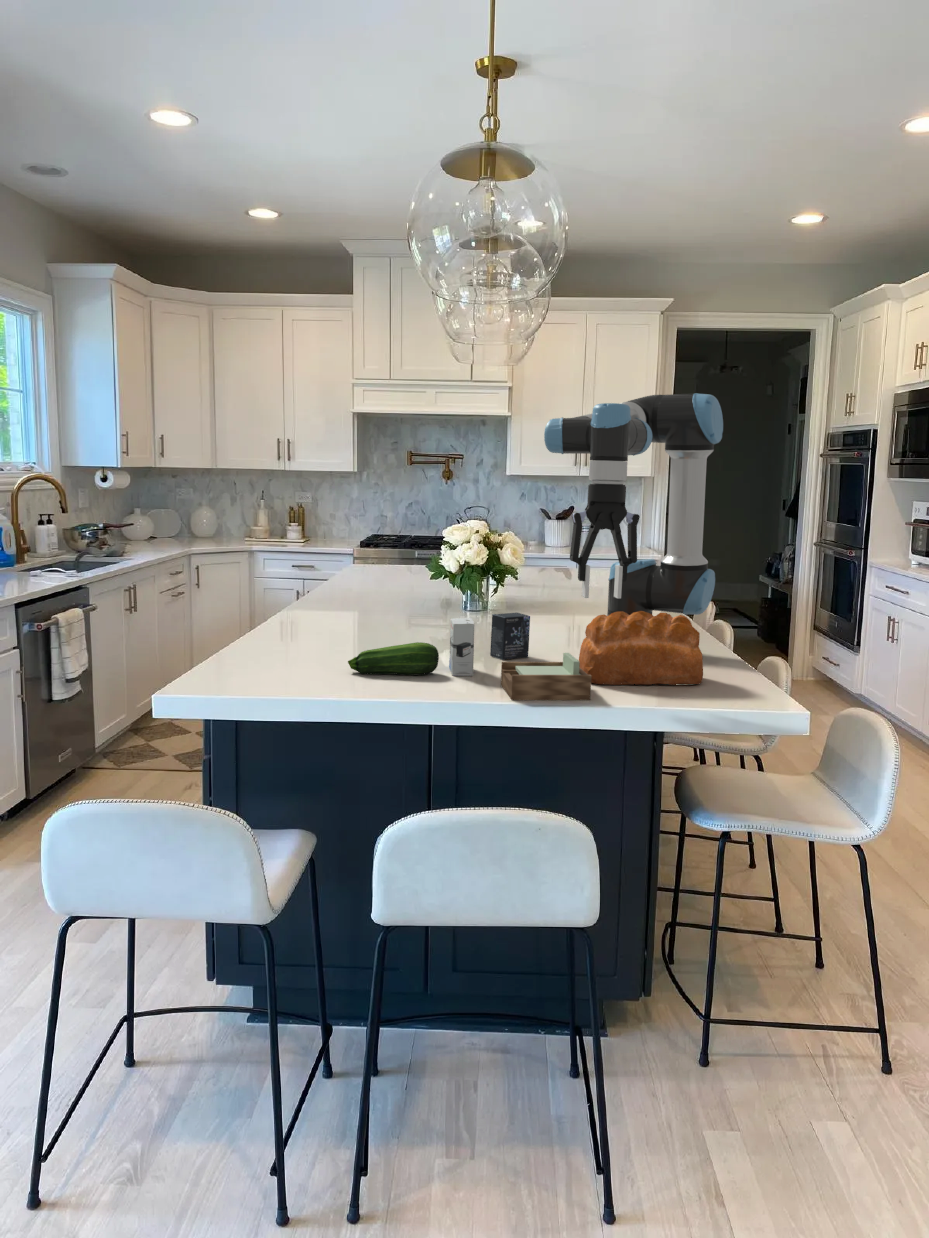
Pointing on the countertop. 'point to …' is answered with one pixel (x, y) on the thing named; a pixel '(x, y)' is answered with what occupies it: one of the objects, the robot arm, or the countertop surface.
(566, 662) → the lid
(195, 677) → the countertop surface
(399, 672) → the vegetable
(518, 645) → the box
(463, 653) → the ink box
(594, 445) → the robot arm
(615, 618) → the bread
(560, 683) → the pencil box
